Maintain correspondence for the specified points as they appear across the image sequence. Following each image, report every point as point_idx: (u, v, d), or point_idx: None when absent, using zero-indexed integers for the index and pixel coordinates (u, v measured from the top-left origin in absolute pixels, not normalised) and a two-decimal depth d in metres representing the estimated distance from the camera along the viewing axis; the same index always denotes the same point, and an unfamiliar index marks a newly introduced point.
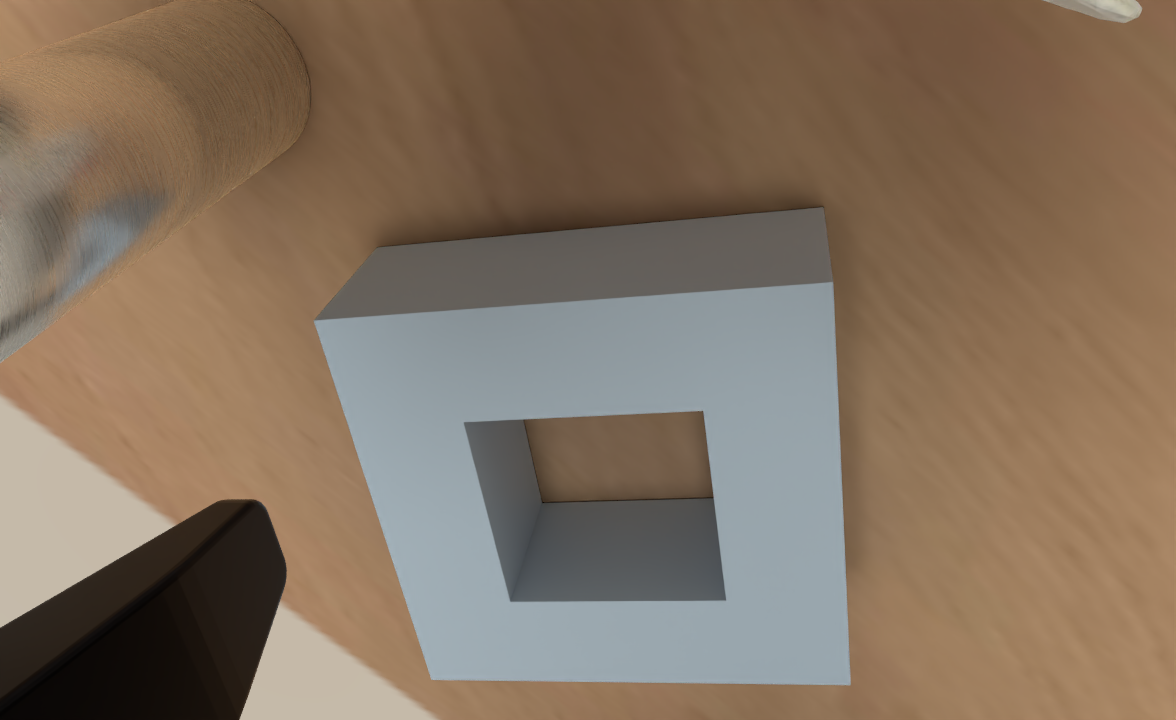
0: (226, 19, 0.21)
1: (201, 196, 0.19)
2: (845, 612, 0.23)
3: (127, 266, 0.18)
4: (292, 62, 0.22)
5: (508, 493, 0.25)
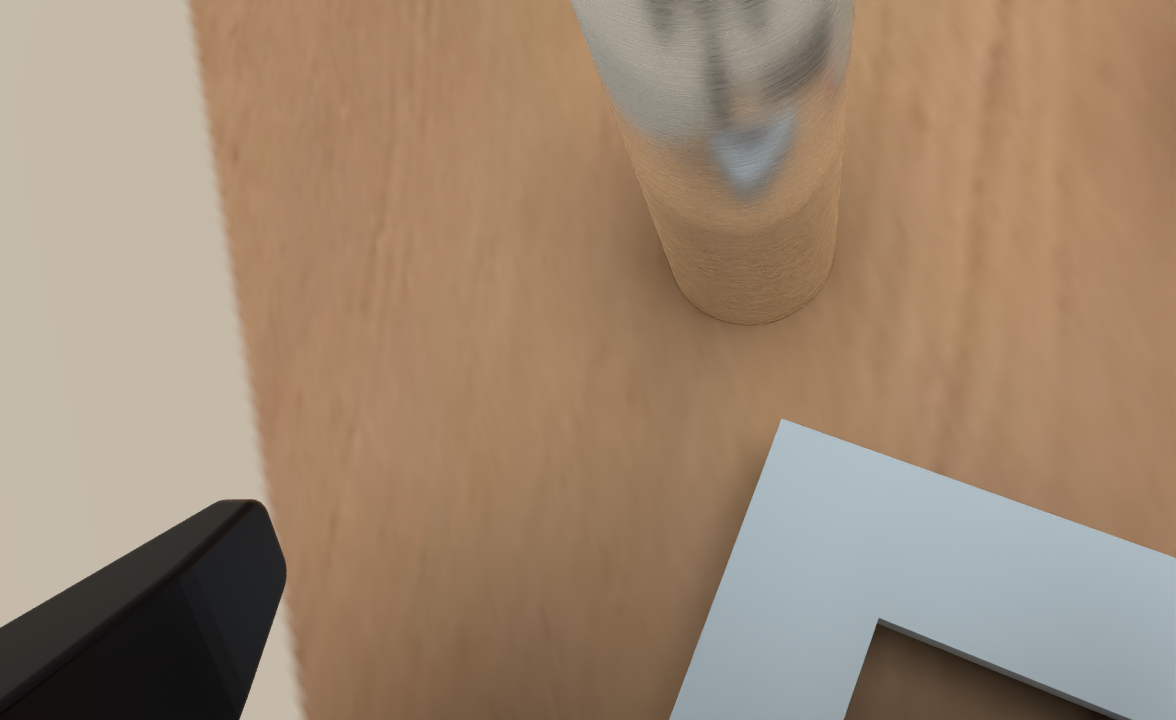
0: None
1: (797, 228, 0.18)
2: None
3: (757, 197, 0.17)
4: (834, 250, 0.23)
5: None
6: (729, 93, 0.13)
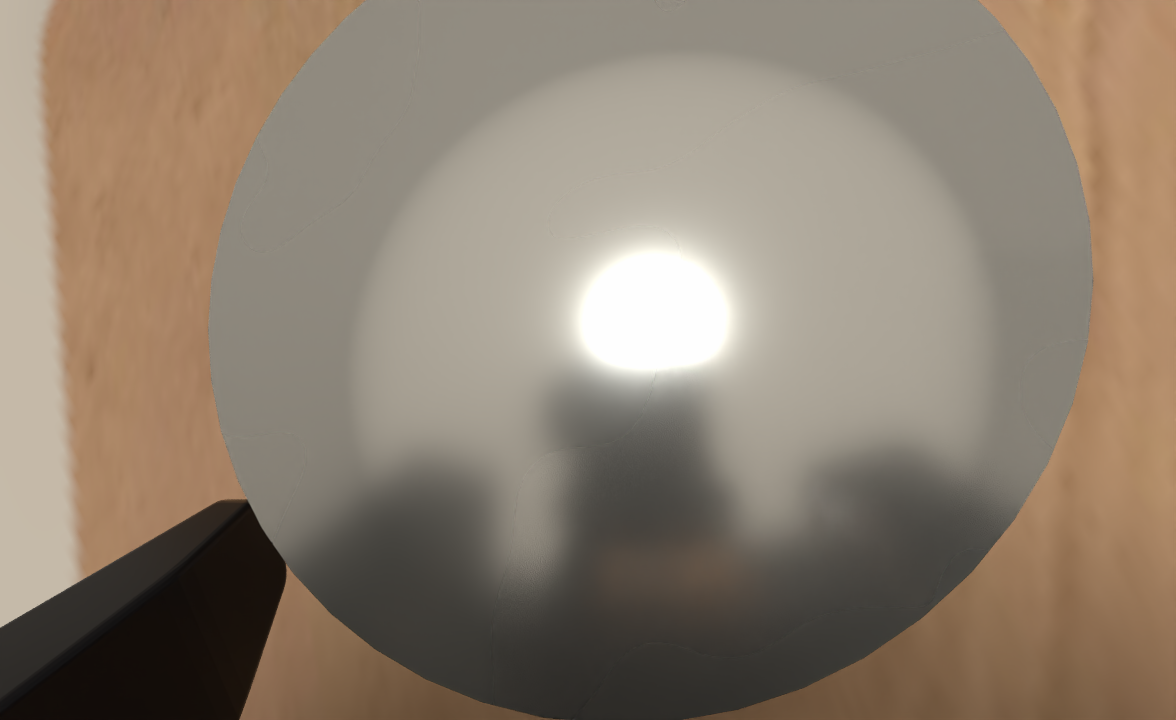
0: None
1: None
2: None
3: None
4: None
5: None
6: None
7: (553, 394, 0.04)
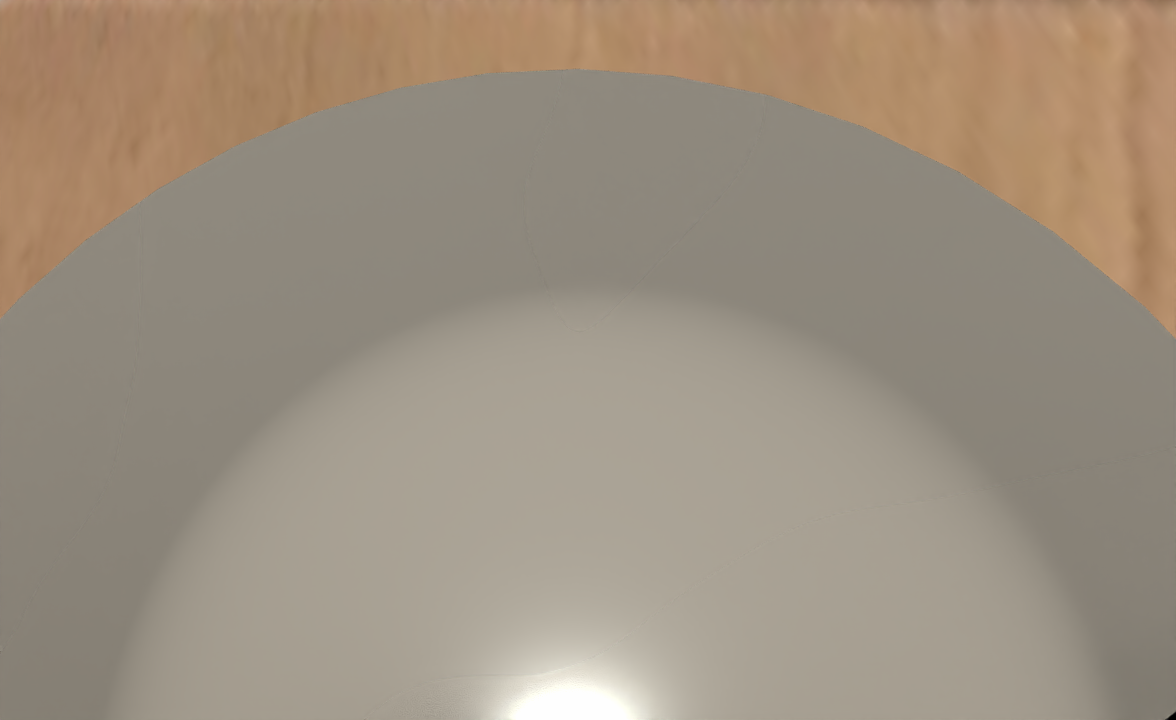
0: None
1: None
2: None
3: None
4: None
5: None
6: None
7: None
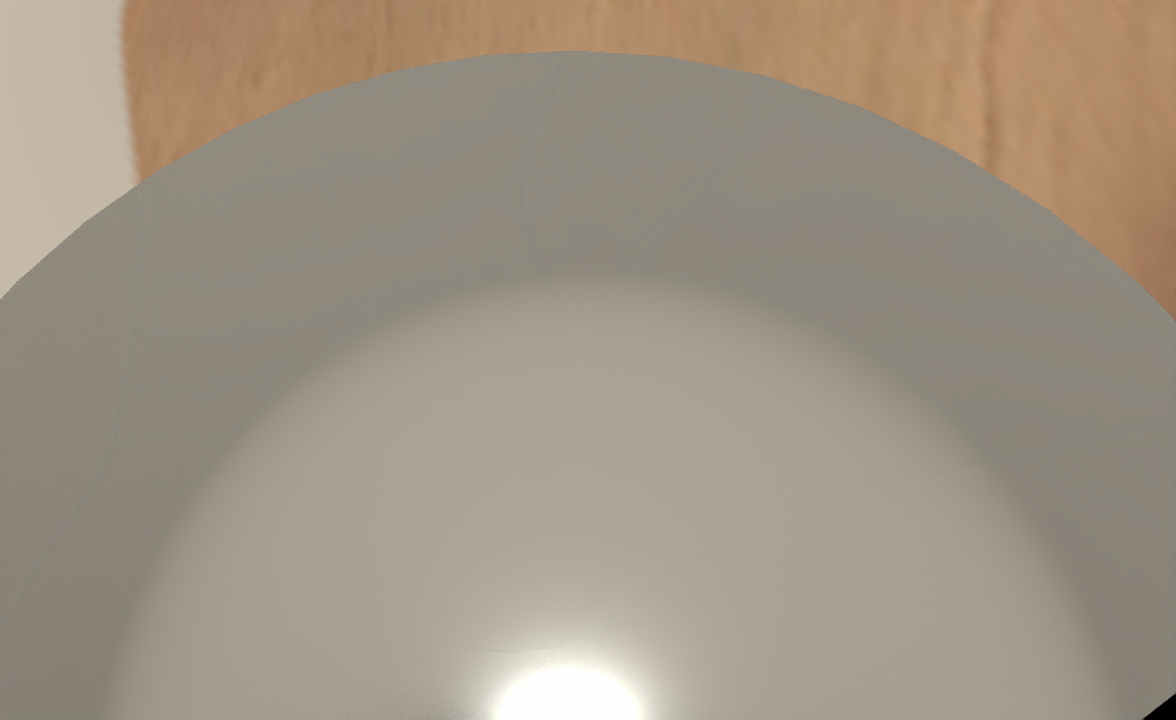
0: None
1: None
2: None
3: None
4: None
5: None
6: None
7: None
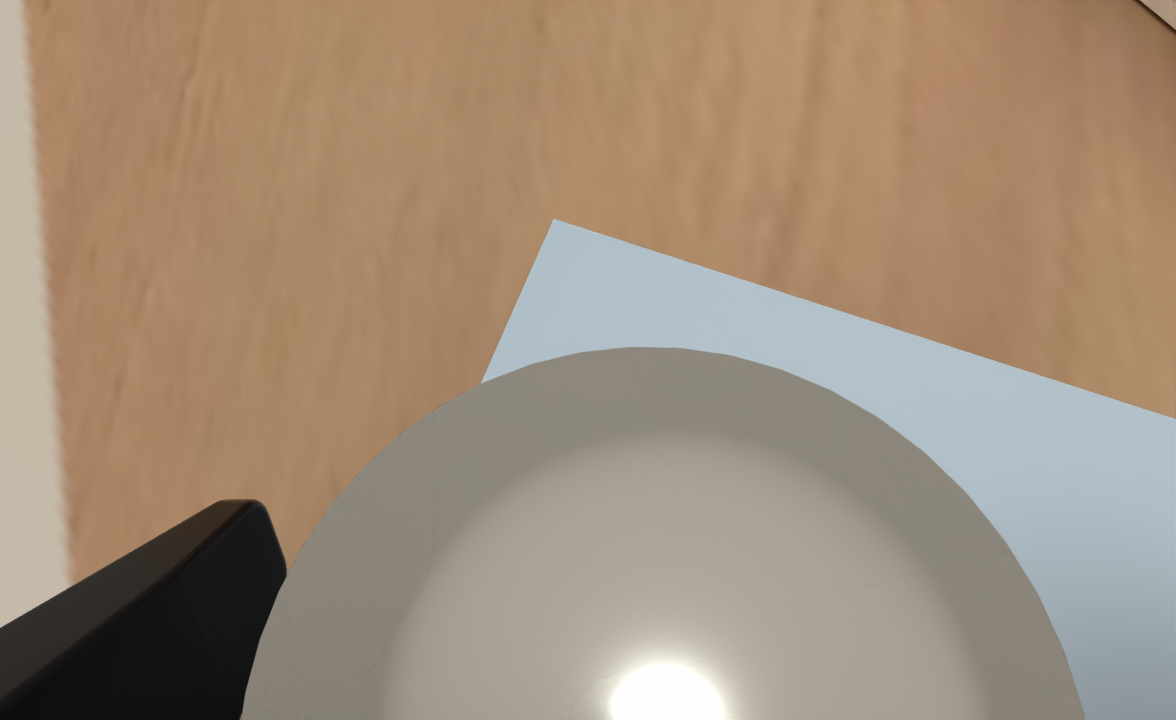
0: None
1: None
2: None
3: None
4: None
5: None
6: None
7: None
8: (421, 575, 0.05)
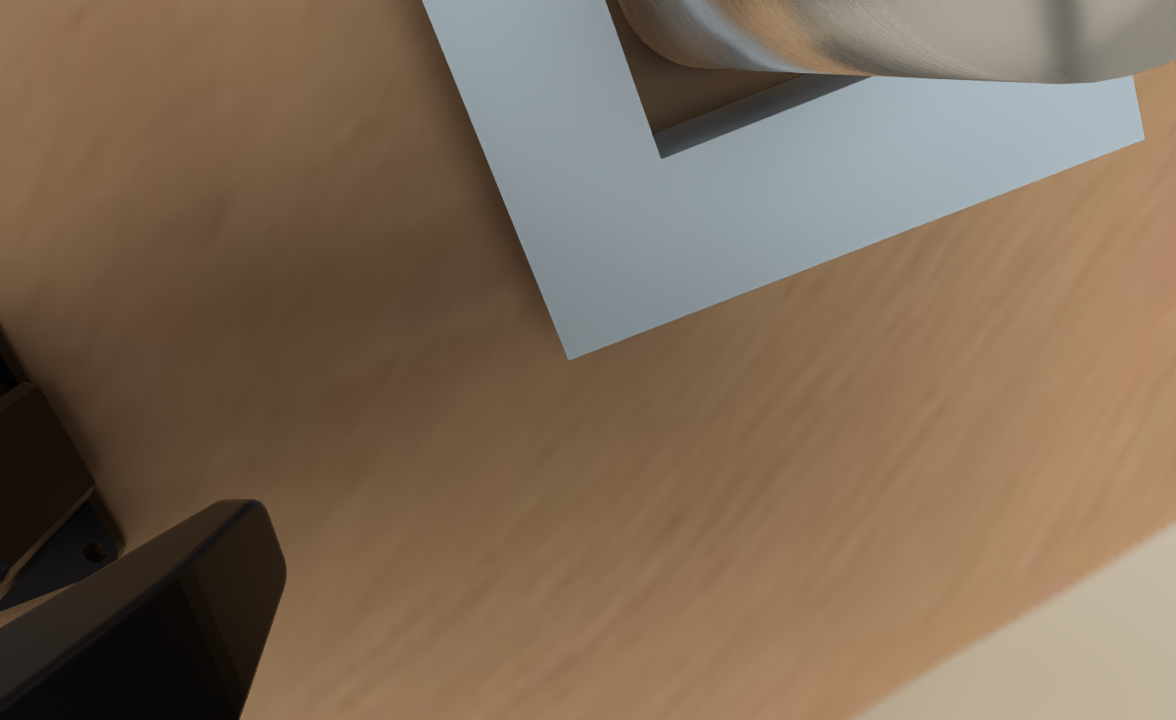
0: None
1: (735, 67, 0.16)
2: (691, 310, 0.18)
3: (722, 45, 0.13)
4: None
5: None
6: (775, 25, 0.10)
7: None
8: None
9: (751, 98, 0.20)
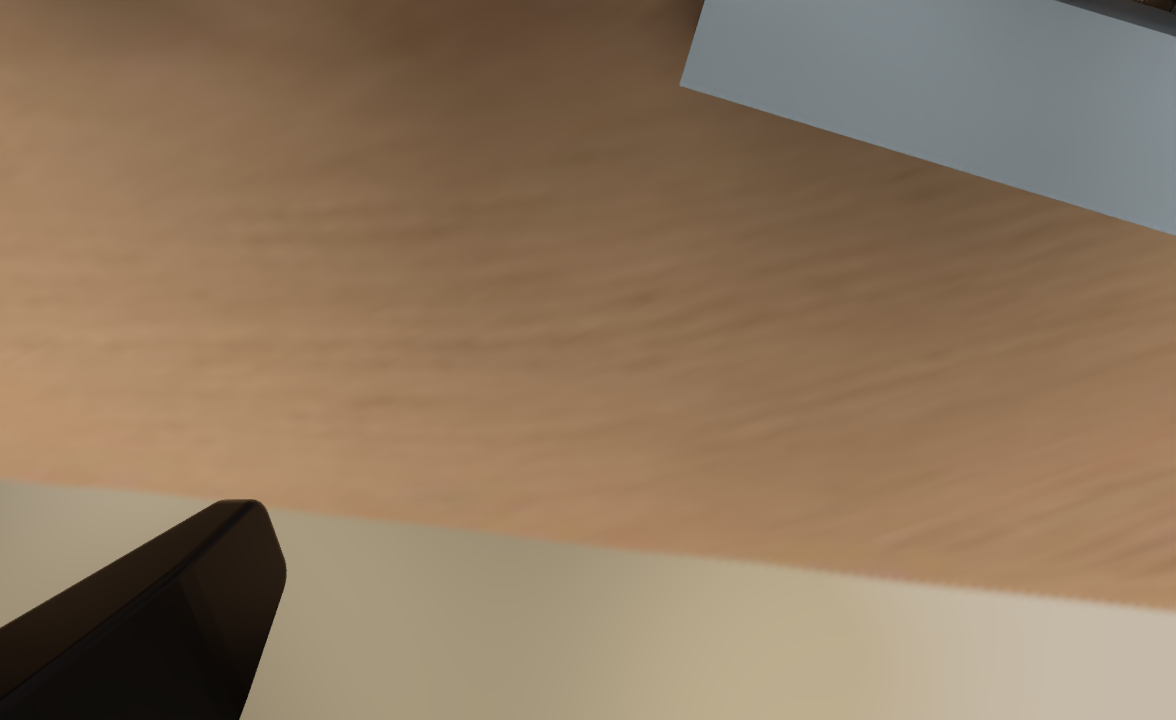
0: None
1: None
2: (821, 125, 0.16)
3: None
4: None
5: None
6: None
7: None
8: None
9: None
